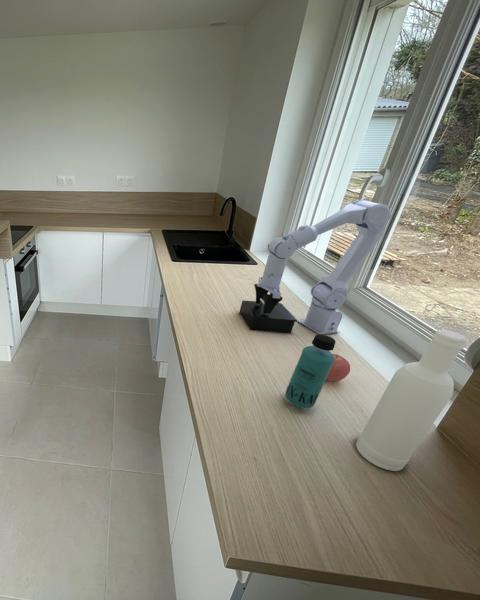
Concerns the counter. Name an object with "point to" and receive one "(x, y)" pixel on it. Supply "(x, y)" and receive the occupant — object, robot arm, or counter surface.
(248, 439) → the counter surface
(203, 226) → the counter surface
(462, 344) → the bottle
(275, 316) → the lid
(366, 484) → the counter surface
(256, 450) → the counter surface
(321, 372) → the beverage bottle
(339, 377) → the apple
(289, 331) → the black square box
